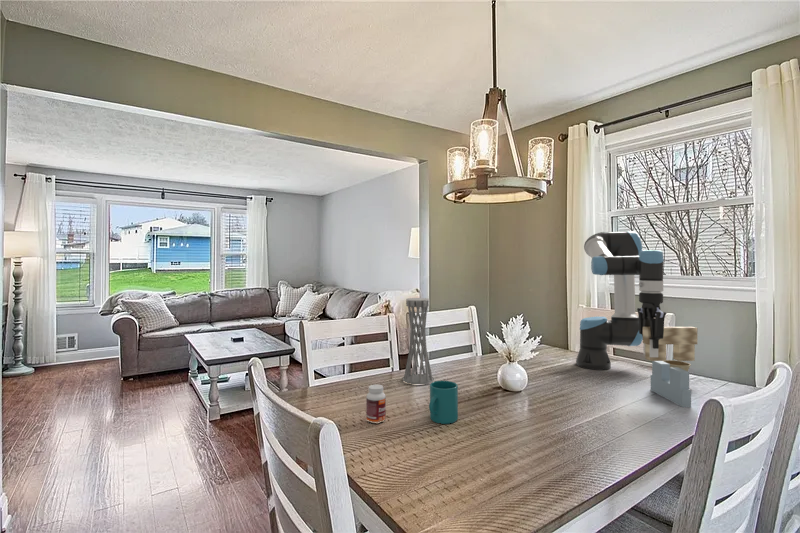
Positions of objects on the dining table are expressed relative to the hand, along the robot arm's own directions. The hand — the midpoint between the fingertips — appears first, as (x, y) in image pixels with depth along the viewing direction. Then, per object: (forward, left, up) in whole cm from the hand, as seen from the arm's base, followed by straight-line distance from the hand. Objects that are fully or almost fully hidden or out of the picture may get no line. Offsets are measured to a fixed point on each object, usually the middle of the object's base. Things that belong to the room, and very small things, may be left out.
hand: (650, 355), depth 148 cm
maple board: (0, +7, -2) cm, 7 cm away
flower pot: (-17, +21, -16) cm, 32 cm away
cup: (+20, -79, -16) cm, 83 cm away
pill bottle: (+20, -100, -16) cm, 103 cm away
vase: (-22, -85, -16) cm, 89 cm away
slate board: (0, +7, -16) cm, 17 cm away
